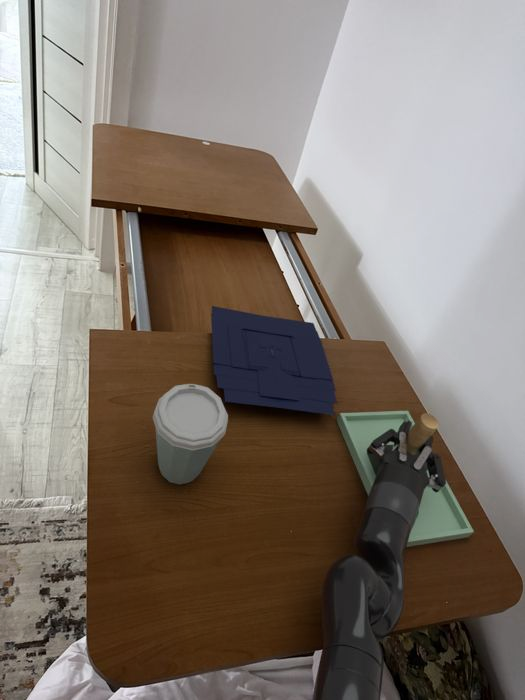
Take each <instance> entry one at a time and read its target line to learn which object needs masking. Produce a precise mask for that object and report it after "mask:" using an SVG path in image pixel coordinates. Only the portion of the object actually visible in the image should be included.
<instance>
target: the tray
mask: <svg viewBox="0 0 525 700" xmlns="http://www.w3.org/2000/svg"><path fill="white" fill-rule="evenodd" d="M335 420H336V422H337V425H338V428H339V430H340V432H341V434H342V437H343V440H344V442H345V445H346V447H347V449H348V451H349V454H350V456H351V459H352V461H353V463H354V465H355V468H356V471H357V473H358V476H359V477H360V480H361V482H362V484H363V488H364V489H365V492H366V494H367V497H368V496H369V493H370V491H371V488H372V486H373V483H374V480H375V478H376V475H375V472H374V470H373V467H372V465H371V462H370V460H369V457H368V455H367V448H368V447H369V446H370V444H371V443H372V441H373V440H375V439H376V438H378V437H379V436H381V435H382V434H384V433H385V432H387V431H388V430H390V429H394V430H395V431H396V432H398V430H399V427H400V426H401V424H402V423H403V422H404V421H405V422H407V421H408V420H409V421H411V422H412V424H411V427H410V429H411V428H412V427H413V425H414V424H415V423H416V422H415V421H414V419H413V418H412V416H411V414H410V411H409V410H390V411H389V410H387V411H362V412H361V411H360V412H359V411H358V412H339V414H338V416H337V418H336V419H335ZM386 445H393V442H389V443H387V444H386ZM426 472H427V475H428V477H429V472H428V470H427V471H426ZM474 533H475V531H474V529H473V527H472V525H471V524H470V522H469V520H468V518H467V517H466V514H465V512H464V511H463V509H462V506H460V503H459V501H458V499H457V497H456V496H455V494H454V493H453V491H452V489H451V487H450V485H449V483H448V482H447V480H446V484H445V485H444V487H443V488H442V489H441V490H439V491H438V492H434V491H433V490H432V488H430V487H426V488H425V489H424V493H423V496H422V500H421V504H420V507H419V514H418V517H417V518H416V521H415V524H414V526H413V528H412V530H411V533H410V536H409V539H408V543H407V546H406V548H409V547H415V546H422V545H429V544H435V543H441V542H448V541H454V540H460V539H466V538H469V537H470V536H471V535H473V534H474Z"/></svg>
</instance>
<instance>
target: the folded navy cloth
mask: <svg viewBox="0 0 525 700" xmlns="http://www.w3.org/2000/svg"><path fill="white" fill-rule="evenodd" d="M210 323H211V342H212V343H211V344H212V364H213V365H212V366H213V375H214V376H215V377H216V386H217V388H218V389H223V393H224V395H223V396H224V402H225V403H235V404H243V405H251V406H259V407H268V408H269V407H270V408H279V409H285V410H286V409H287V410H293V411H301V412H307V413H316V414H324V415H331V416H336V414H335V410H334V406H333V404H338V401H337V397H336V392H337V389H336V387H335V383H334V378H333V374H332V371H331V368H330V365H329V362H328V359H327V355H326V352H325V350H324V346H323V343H322V339H321V337H320V334H319V332H318V330H317V329H316V328H317V327H316V325H315V323H314V322H310V321H304V320H303V321H302V320H295V319H288V318H282V317H274V316H268V315H263V314H262V315H261V314H257V313H251V312H246V311H241V310H236V309H231V308H225V307H220V306H215V305H211V313H210Z"/></svg>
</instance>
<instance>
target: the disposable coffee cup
mask: <svg viewBox="0 0 525 700" xmlns="http://www.w3.org/2000/svg"><path fill="white" fill-rule="evenodd" d="M152 420H153V423H154V426H155V439H156V453H157V455H156V456H157V465H158V468H159V472H160V474H161V476H162V477H163V478H164V479H166V480H167V481H168V483H171V484H175V485H180V486H181V485H184V484H188V483H192V482H193V481H194V480H195V479H196V478H197V477H198V476H199V475H200V474H201V472H202V471H203V469H204V468H205V466H206V464H207V462H208V460H209V459H210V457H211V456H212V454H213V453H214V451H215V450H216V448H217V446H218V445H219V442H220V441H221V440H222V438H223V437H225V435H226V431H227V427H228V423H229V414H228V412H227V410H226V407H225V406H224V403H223V401H222V398H221V397H220V396H219V395H217V394H216V393H215V391H213V390H212V389H211V388H209V387H207V386H204V385H200V384H196V383H184V384H178V385H174V386H172V388H171V389H170V390H168V391H167V392H165V393H164V394H163V395H162V396H161V397H160V398H159V399H158V401H157V403H156V405H155V409H154V411H153V415H152Z"/></svg>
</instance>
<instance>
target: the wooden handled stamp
mask: <svg viewBox="0 0 525 700" xmlns="http://www.w3.org/2000/svg"><path fill="white" fill-rule="evenodd" d="M414 423H415V424H414V425H413V427H412V428H411V429H410V430H409V432H408V435H407V436H406V443H407V451H408V452H409V453H410V454H412V455H415V456H418V455H419V453H420V452H419V451H418V450H419V449H420V448H421V447H422V446H423V444H424V443H425V442H426V441H427V440H428V438H429V437H430V436H432V435H433V434H434V433H435V432H436V430H437V429H438V428H439V425H440V424H439V423H440V422H439V421H438V419H437V418H436V417H435V416H434V415H432V414H430V413H426V412H425V413H421V415H420V416H419V417H418V419H416V421H415V422H414ZM384 447H385V448H384V450H383V452H384V453H387V452H390V451H392V449H393V445H385V446H384ZM367 455H368V457H369V460H370V462H371V465H372V467H373V470H374V472H375V475H377V473H378V470H379V458H378V457H377V456H376V455H375V454H374V453H373V454H369V453H368V452H367ZM423 465H424V468H425V470H426V471H427V470H428V467H427V462H426V461H425V462H424V464H423Z"/></svg>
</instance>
